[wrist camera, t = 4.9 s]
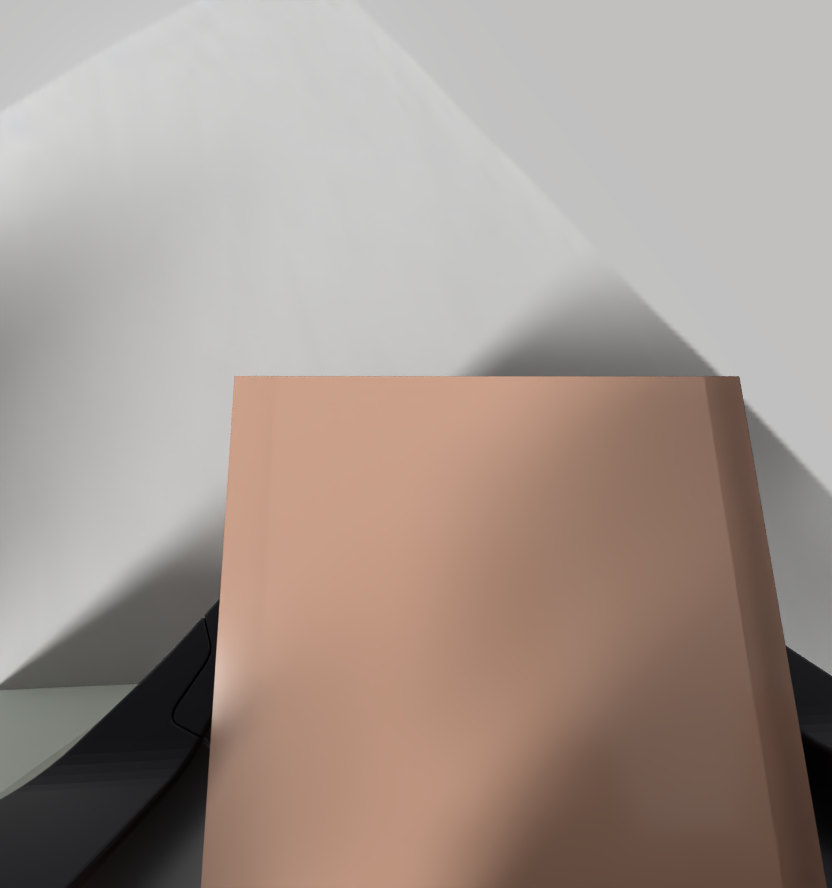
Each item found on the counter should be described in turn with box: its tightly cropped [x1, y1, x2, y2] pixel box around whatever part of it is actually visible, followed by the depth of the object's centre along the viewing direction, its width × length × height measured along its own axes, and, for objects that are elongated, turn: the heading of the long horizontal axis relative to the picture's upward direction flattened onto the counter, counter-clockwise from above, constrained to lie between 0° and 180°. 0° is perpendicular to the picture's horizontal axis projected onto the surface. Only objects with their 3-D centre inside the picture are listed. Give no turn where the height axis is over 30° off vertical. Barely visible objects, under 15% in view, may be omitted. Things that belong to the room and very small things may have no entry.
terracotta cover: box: [201, 376, 827, 888], centre depth 10 cm, size 7×7×12 cm
